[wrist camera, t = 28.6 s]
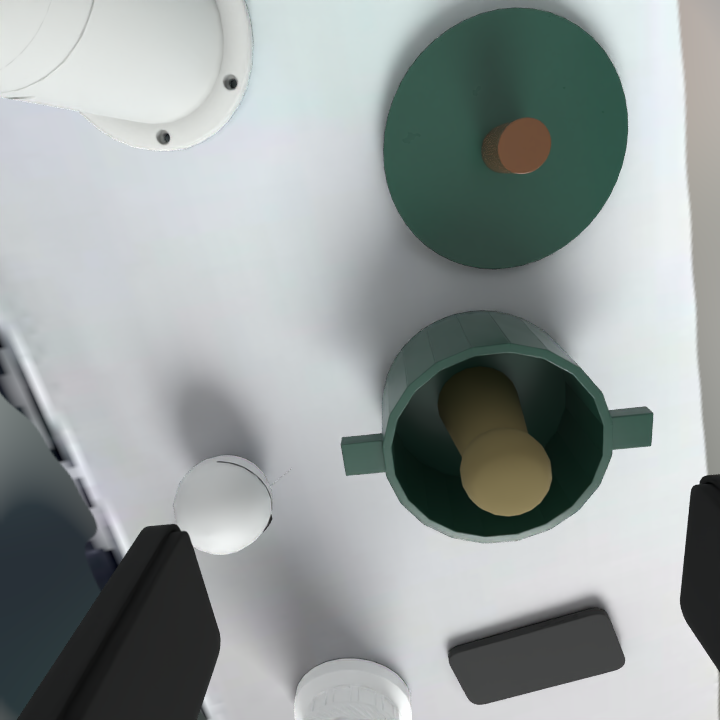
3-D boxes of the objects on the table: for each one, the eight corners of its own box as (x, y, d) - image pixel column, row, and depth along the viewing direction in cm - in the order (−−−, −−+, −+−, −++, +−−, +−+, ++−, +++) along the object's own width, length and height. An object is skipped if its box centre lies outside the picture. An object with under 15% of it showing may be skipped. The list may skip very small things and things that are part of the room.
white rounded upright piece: (218, 523, 44) (188, 589, 38) (177, 453, 42) (137, 509, 35) (324, 490, 43) (313, 552, 36) (288, 415, 40) (268, 466, 34)
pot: (335, 327, 38) (324, 364, 31) (611, 294, 36) (666, 324, 29) (361, 490, 43) (357, 554, 36) (605, 467, 41) (651, 529, 34)
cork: (520, 365, 38) (572, 439, 27) (516, 438, 40) (562, 532, 29) (437, 367, 38) (458, 442, 28) (437, 439, 40) (456, 534, 30)
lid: (369, 35, 31) (366, 6, 25) (625, -9, 30) (682, -50, 24) (397, 279, 36) (399, 300, 31) (616, 250, 35) (662, 267, 29)
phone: (444, 655, 48) (606, 610, 45) (443, 647, 48) (602, 602, 46) (472, 708, 50) (628, 667, 47) (471, 699, 51) (624, 659, 48)
